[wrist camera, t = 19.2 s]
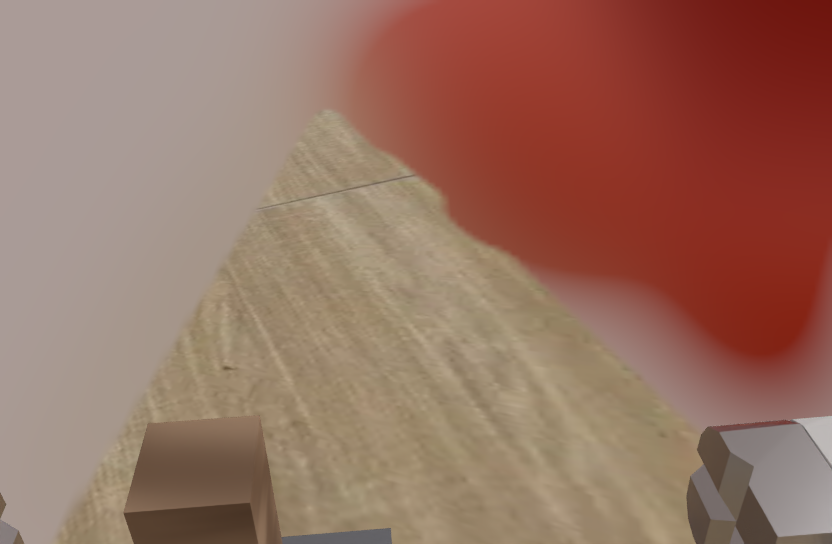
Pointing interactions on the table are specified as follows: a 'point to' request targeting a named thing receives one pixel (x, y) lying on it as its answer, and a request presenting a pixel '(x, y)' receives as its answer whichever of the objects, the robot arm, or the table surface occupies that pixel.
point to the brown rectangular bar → (203, 485)
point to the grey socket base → (343, 538)
